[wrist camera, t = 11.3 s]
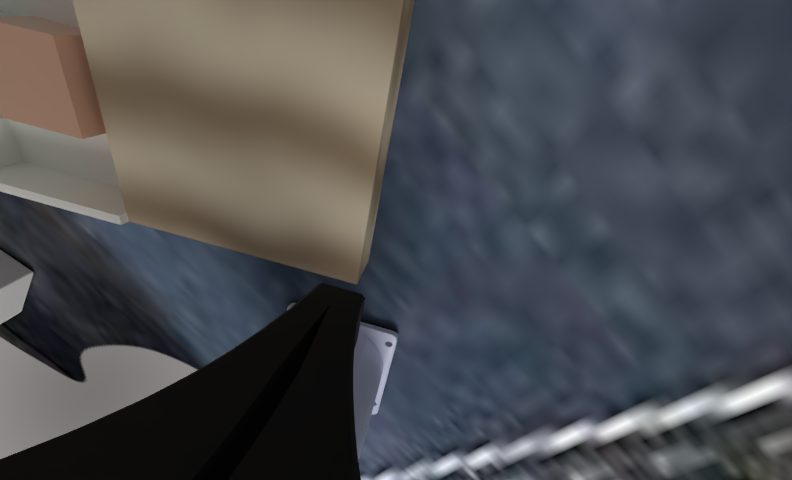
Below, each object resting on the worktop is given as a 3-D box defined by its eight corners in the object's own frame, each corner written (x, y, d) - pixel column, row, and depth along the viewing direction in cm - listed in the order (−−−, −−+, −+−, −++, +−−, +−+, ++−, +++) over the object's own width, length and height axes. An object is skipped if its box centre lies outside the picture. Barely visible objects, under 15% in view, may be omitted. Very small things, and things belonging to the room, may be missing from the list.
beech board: (368, 260, 21) (357, 284, 19) (161, 204, 22) (128, 221, 20) (417, -15, 14) (407, -25, 12) (106, -81, 15) (46, -101, 13)
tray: (161, 204, 22) (105, 233, 19) (24, 166, 23) (-54, 188, 20) (106, -81, 15) (-1, -116, 12) (-92, -123, 16) (-247, -168, 12)
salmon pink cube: (133, 126, 20) (82, 139, 17) (62, 107, 20) (2, 117, 17) (114, 35, 17) (52, 34, 15) (34, 16, 18) (-41, 12, 15)
